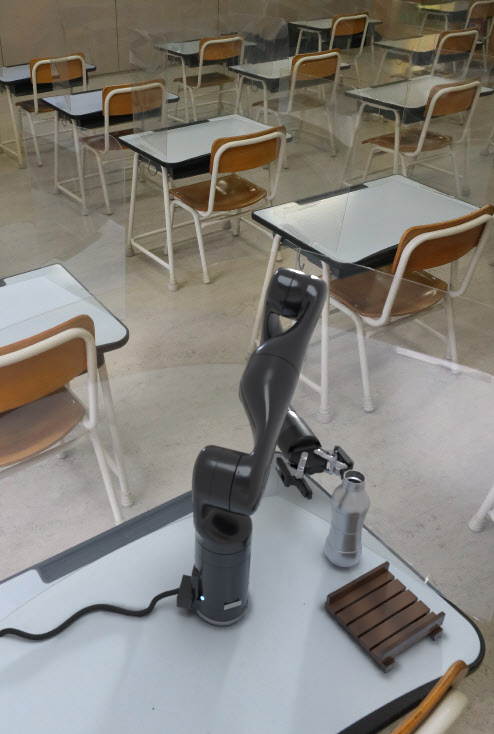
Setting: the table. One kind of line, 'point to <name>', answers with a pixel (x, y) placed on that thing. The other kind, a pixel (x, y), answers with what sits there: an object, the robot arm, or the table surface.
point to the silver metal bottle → (347, 520)
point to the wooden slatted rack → (382, 615)
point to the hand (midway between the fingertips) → (331, 491)
